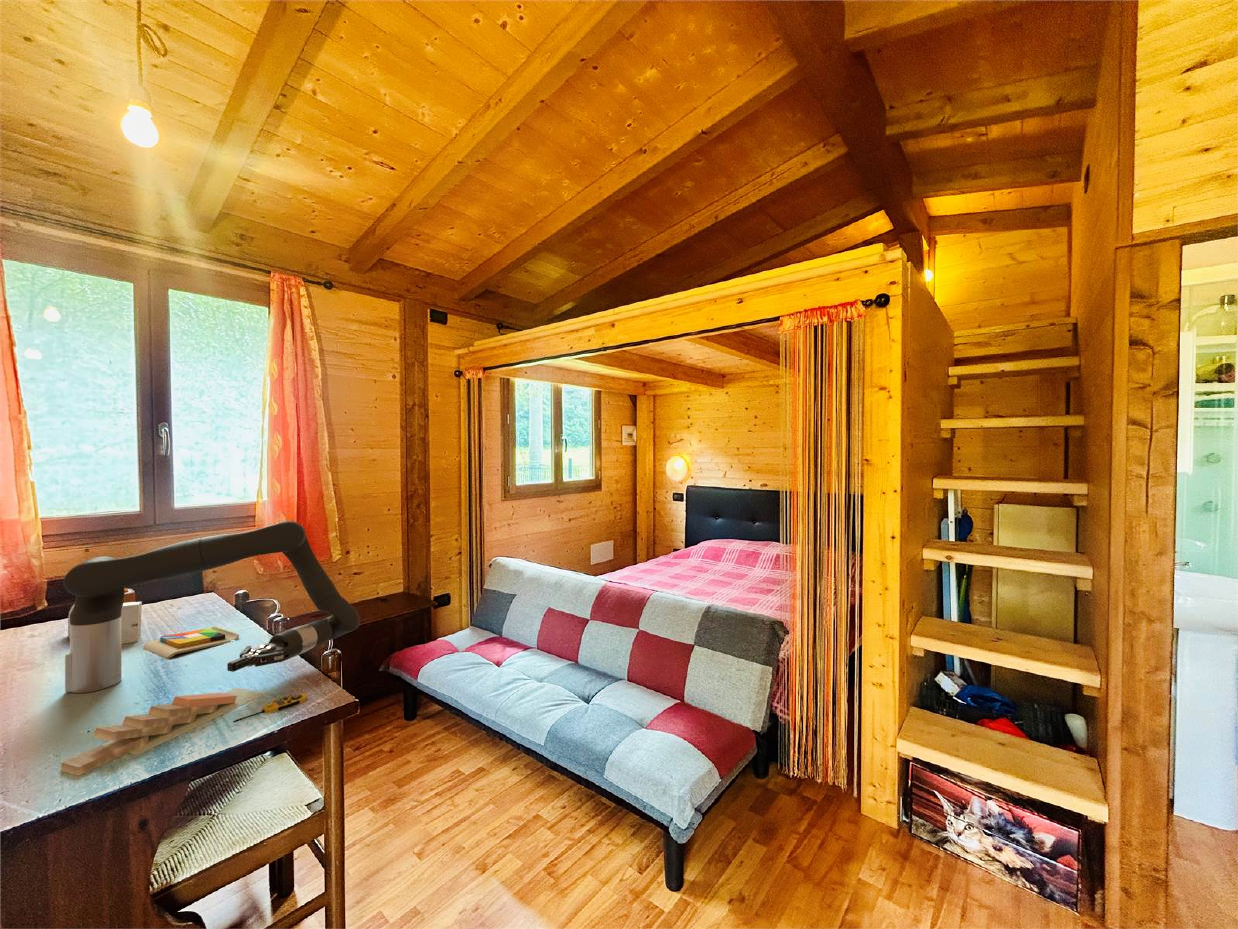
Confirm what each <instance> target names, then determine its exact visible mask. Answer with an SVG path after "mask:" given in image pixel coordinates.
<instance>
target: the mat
mask: <svg viewBox="0 0 1238 929" xmlns="http://www.w3.org/2000/svg"><path fill="white" fill-rule="evenodd" d="M224 693H227V694H232V695H237V698H236V701H235V703H228V704H218V705H217V708H216V711H215V712H212V713H203V714H196V717H195V720H194V722H190V723H182V724H174V725H172V727H171V730H170V733H164V734H157V735H150V736H148V744H146V745H143V746H141V747H139V748H137V749H135V750H133V751H130V752H128V753H127V754H132V755H135V756H138V755H141V754H142V753H144V752H146V751H148V750H150V749H153V748H155V747H157V746H159V745H160V744H163V743H165V742H167V741H169V740H172V739H174V738H176V737H177V736H180V735H183V734H184V733H186V732H188V731H190V730H192V729H194V728H197V727H199V726H201V725H203V724H205V723H208V722H209V721H212V720H213V719H215V718H217V717H219V716H221V715H225V714H227V713H229V712H231V711H233V710H235V709H237V708H238V707H241V706H243V705H245V704H247V703H249V702H252V701H253V700H255V699H258V698H259V697H262V696H264V695H266V692H261V691H255V690H251V689H245V688H242V687H241V688H240V687H235V688H231V690H228V691H226V692H224Z"/></svg>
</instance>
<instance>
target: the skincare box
mask: <svg viewBox="0 0 1238 929" xmlns="http://www.w3.org/2000/svg"><path fill="white" fill-rule="evenodd" d="M142 607H143V602H142V601H135V602H129V603H123V606H122V611H121V645H122V644H123V645H124V644H129V643H136V642H138V641H140V639H141V636H142V635H141V634H142V613H143V612H142Z"/></svg>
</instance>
